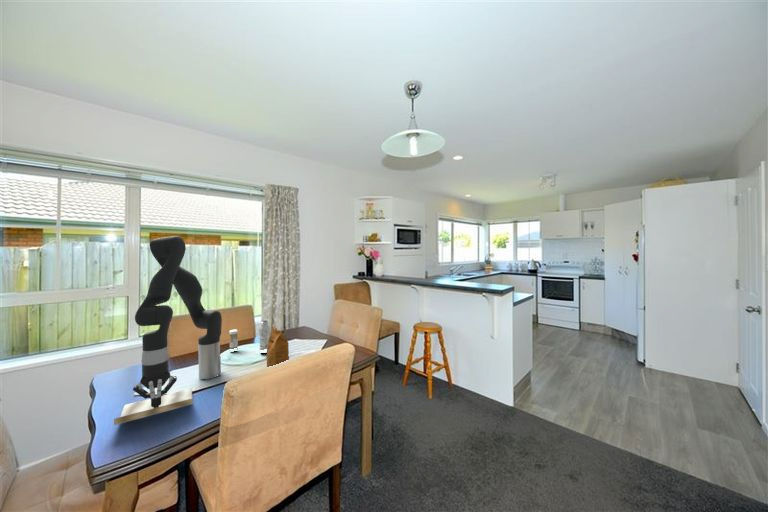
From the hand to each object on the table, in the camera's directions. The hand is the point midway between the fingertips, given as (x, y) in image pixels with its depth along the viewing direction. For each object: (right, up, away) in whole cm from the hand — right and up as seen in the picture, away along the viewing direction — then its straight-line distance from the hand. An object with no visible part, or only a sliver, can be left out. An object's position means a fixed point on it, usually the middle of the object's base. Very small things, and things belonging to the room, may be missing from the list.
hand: (156, 406), depth 102 cm
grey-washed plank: (-8, -6, +12) cm, 15 cm away
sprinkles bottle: (-10, -5, +72) cm, 73 cm away
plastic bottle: (+11, -5, +69) cm, 70 cm away
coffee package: (+27, -6, +47) cm, 54 cm away
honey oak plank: (-1, -4, +2) cm, 4 cm away
